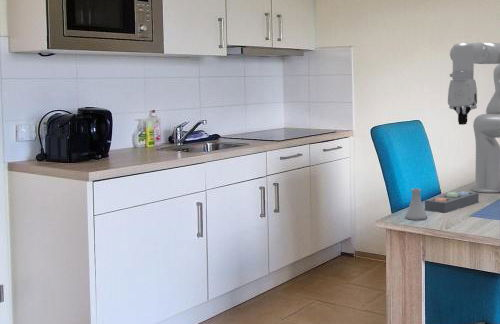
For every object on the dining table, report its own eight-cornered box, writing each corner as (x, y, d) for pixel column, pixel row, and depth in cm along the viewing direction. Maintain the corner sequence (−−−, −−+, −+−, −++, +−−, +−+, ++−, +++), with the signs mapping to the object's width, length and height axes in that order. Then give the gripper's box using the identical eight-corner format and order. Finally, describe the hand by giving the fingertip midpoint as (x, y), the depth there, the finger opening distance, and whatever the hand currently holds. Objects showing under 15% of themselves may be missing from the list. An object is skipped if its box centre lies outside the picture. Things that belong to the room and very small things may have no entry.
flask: (428, 220, 206) (428, 191, 205) (405, 220, 208) (405, 191, 207) (426, 216, 213) (426, 187, 212) (404, 215, 215) (404, 187, 214)
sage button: (450, 199, 231) (450, 191, 230) (460, 200, 228) (460, 192, 227) (444, 200, 228) (444, 192, 228) (454, 202, 225) (454, 194, 225)
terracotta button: (438, 205, 225) (438, 197, 225) (448, 206, 222) (448, 198, 222) (432, 207, 223) (432, 198, 222) (442, 208, 220) (442, 200, 219)
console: (459, 199, 239) (459, 190, 238) (478, 202, 233) (478, 193, 233) (424, 209, 223) (424, 200, 223) (444, 212, 217) (444, 203, 217)
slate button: (461, 198, 236) (461, 190, 236) (471, 199, 233) (471, 192, 233) (455, 200, 233) (455, 192, 233) (465, 201, 230) (465, 193, 230)
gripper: (440, 76, 238) (439, 124, 240) (476, 75, 227) (476, 125, 229) (450, 76, 243) (450, 123, 245) (486, 75, 232) (486, 124, 234)
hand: (462, 124), depth 237 cm, fingers closed
